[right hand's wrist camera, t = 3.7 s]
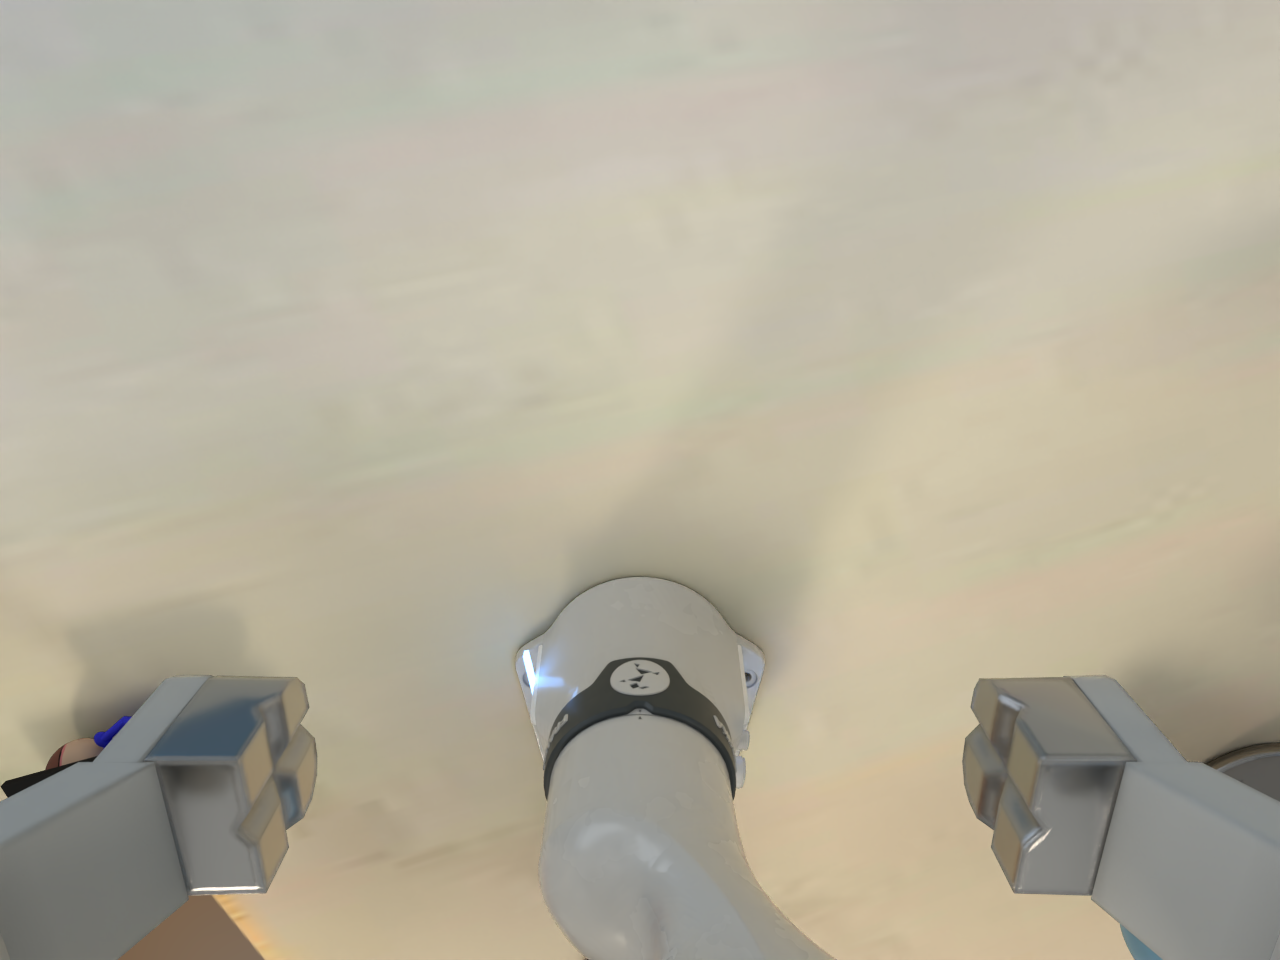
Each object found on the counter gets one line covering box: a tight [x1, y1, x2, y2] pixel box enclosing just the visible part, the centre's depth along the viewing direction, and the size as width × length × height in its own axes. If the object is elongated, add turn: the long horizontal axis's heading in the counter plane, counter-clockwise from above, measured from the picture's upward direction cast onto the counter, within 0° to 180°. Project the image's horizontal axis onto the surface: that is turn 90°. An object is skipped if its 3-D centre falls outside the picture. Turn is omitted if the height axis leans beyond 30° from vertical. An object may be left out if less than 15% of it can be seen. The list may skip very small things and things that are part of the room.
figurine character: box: [1, 716, 131, 798], centre depth 66 cm, size 7×8×15 cm
